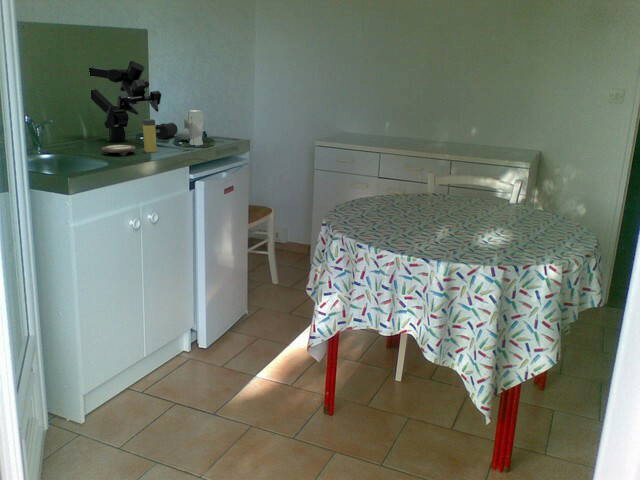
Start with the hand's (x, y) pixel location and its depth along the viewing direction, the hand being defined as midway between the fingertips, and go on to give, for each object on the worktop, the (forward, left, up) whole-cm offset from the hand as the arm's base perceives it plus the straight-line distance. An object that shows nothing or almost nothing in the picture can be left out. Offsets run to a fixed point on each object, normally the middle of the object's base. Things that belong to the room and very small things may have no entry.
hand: (147, 112), depth 271 cm
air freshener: (+3, +26, -15) cm, 30 cm away
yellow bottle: (+6, -7, -15) cm, 18 cm away
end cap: (-12, +27, -15) cm, 34 cm away
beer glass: (+12, +17, -15) cm, 26 cm away
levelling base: (-1, -18, -15) cm, 23 cm away
